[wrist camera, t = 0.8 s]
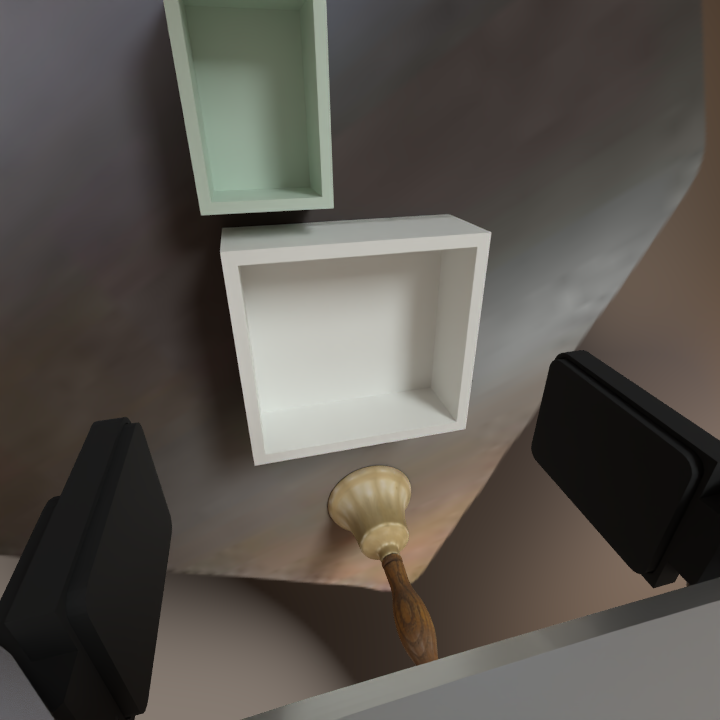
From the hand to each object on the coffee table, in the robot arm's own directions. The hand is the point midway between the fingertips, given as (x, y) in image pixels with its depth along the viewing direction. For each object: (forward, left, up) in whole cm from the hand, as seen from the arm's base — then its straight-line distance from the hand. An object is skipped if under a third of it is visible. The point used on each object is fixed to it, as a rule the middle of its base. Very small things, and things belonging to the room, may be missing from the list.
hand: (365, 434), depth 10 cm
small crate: (-7, -1, -22) cm, 23 cm away
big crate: (+7, +4, -22) cm, 24 cm away
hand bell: (+26, +6, -23) cm, 35 cm away
